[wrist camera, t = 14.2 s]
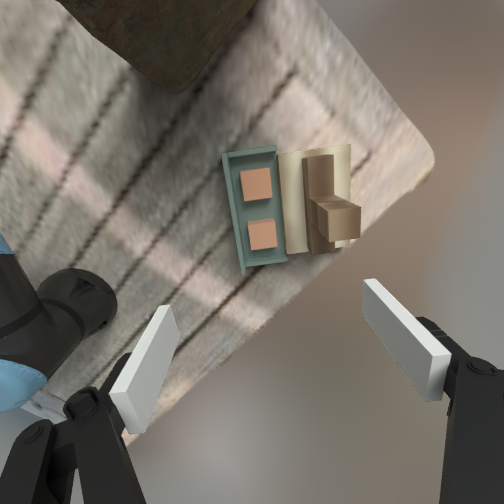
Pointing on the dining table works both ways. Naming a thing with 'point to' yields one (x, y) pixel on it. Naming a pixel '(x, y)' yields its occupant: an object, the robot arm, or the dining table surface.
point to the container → (161, 33)
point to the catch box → (254, 205)
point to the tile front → (256, 183)
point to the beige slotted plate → (294, 192)
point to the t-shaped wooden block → (326, 207)
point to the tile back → (262, 234)
